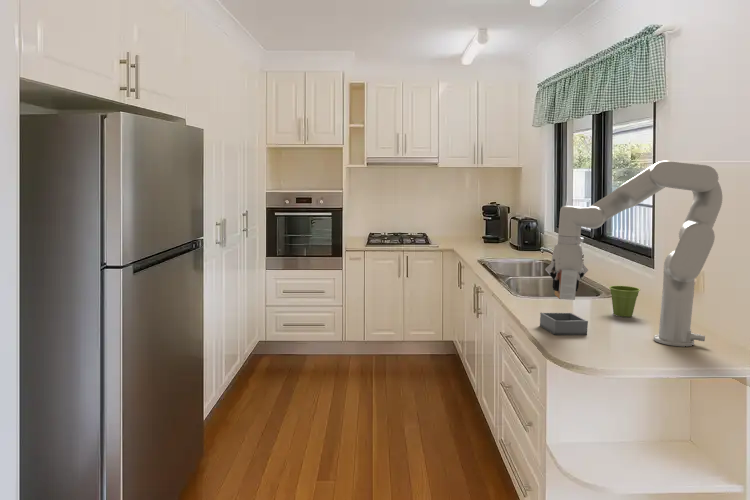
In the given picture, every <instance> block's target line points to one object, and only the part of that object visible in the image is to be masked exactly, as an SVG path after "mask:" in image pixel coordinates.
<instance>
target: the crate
mask: <svg viewBox="0 0 750 500" xmlns="http://www.w3.org/2000/svg"><path fill="white" fill-rule="evenodd" d="M588 323H589V320H587V319H585V318H583V317H581V316H579V315H576V314H574V313H573V312H540V318H539V327H541V328H542V329H544V330H546V331H547V332H549V333H550V332H551V334H552V335H553V336H588V327H589V325H588Z"/></svg>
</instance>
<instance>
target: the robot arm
mask: <svg viewBox="0 0 750 500" xmlns="http://www.w3.org/2000/svg"><path fill="white" fill-rule="evenodd" d="M664 188H669V189H677V190H683V191H692V195H693V196H692V202H691V205H690V207H689V210H688V213H687V215H686V217H685V220H684V221H683V223H682V226H681V227H680V229H679V231H678V239H679V241H678V243H677V246H676V248H675V250H673V251H671V252H670V253H668V255H667V256H666V257H665V259H664V262H663V280H662V281H663V282H662V295H661V304H660V306H661V307H660V313H659V314H660V316H659V329H658V334H655V335H653V339H652V340H654V342H657V343H659V344H662V345H668V346H673V347H685V346H686V347H693V346H694V345H695V341H699V342H700V341H701V342H705V341H706V340H705V339H706V335H703V334H701V333H700V334H699V333H694V332H692V328H691V327H692V326H691V325H692V315H693V305H694V294H695V281H696V280H695V279H696V278H698V276H699V275H700V274H701V271H702V269H703V267H704V265H705V263H706V261H707V259H708V257H709V256H710V255H709V254H710V253H711V250H712V248H713V245H714V244H715V237H716V234H715V231H714V229H713V227H714V225H715V223H716V221H717V219H718V216H719V213H720V211H721V208H722V205H723V190H722V188H721V184H720V182H719V174H718V172H717V170H716V169H715V168H713V167H712V166H710V165H706V164H695V163H688V162H679V161H671V160H661V161H658V162H656V163H654V164H652V165H651V166H649V167H647V168H646V169H645V170H643V171H641V172H640V173H638V174H637V175H635V176H634V177H632V178H630V179H629V180H627V181H626V182H624V183H622V184H621V185H619V186H618V187H617V188H616V189H615V190H613V191H612V192H610V193H609V194H607V195H606V196H604V197H602V198H601V199H599V200H598V201H596V202H594V203H593V204H591V205H589V206H588V207H580V206H575V205H562V206H561V207H560V209H559V210H560V211H559V221H558V223H559V224H558V235H557V243H555V244H554V247H553V250H552V256H551V262H550V264H549V265H547V267H545V269H544V270H545V271H546V272H547V274H548V275H549V276H550V277H551V279H552V289H553V291H554V292H555V291H559V280H558V278H559V276H560V272H561V270H576V271H577V282H576V292H578V289H579V284H580V283H579V282H580V281H581V279H582V278H583V277H585V274H586V273H588V271H589V269H588V268H587V267H586V266H585V264H584V263H583V258H584V257H583V248H582V245H581V243H583V242H584V241H585V240H584V237H582V235H581V233H582V228H586V229H587V228H588V229H592V230H593V229H594V230H595V229H598V228H601V227H602V226H603V224H604V223H605V222H607V221H608V220H609V219H611V218H612V217H615V216H616V215H618V214H620V213H621V212H623V211H625V210H628V209H632V208H633V207H635V206H638V205H639V204H641V203H642V202H644V201H645V200H647V199H649V198H651V197H652V196H654V195H656V194H657V193H659V192H661V191H662V190H664ZM692 345H693V346H692Z"/></svg>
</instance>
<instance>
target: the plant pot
mask: <svg viewBox="0 0 750 500" xmlns="http://www.w3.org/2000/svg"><path fill="white" fill-rule="evenodd" d="M608 288H609V289H610V296H611V305H612V312H613V315H615V316H616V315H617V316H616V317H620V316H622V317H623V318H624V317H627V318H630V317H633V315H634V311H635V306H636V302H637V298H638V296H639V292H640V291H641V289H640V288H639V287H635V286H629V285H627V286H626V285H611V286H608Z"/></svg>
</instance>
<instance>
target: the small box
mask: <svg viewBox="0 0 750 500" xmlns="http://www.w3.org/2000/svg"><path fill="white" fill-rule="evenodd" d="M558 280H559V291H555V290H554V296H556V297H557V298H558V300H569V301H575V300H576V292H577V291H576V282H577V271H576V270H561V272H560V276H559V278H558Z"/></svg>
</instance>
